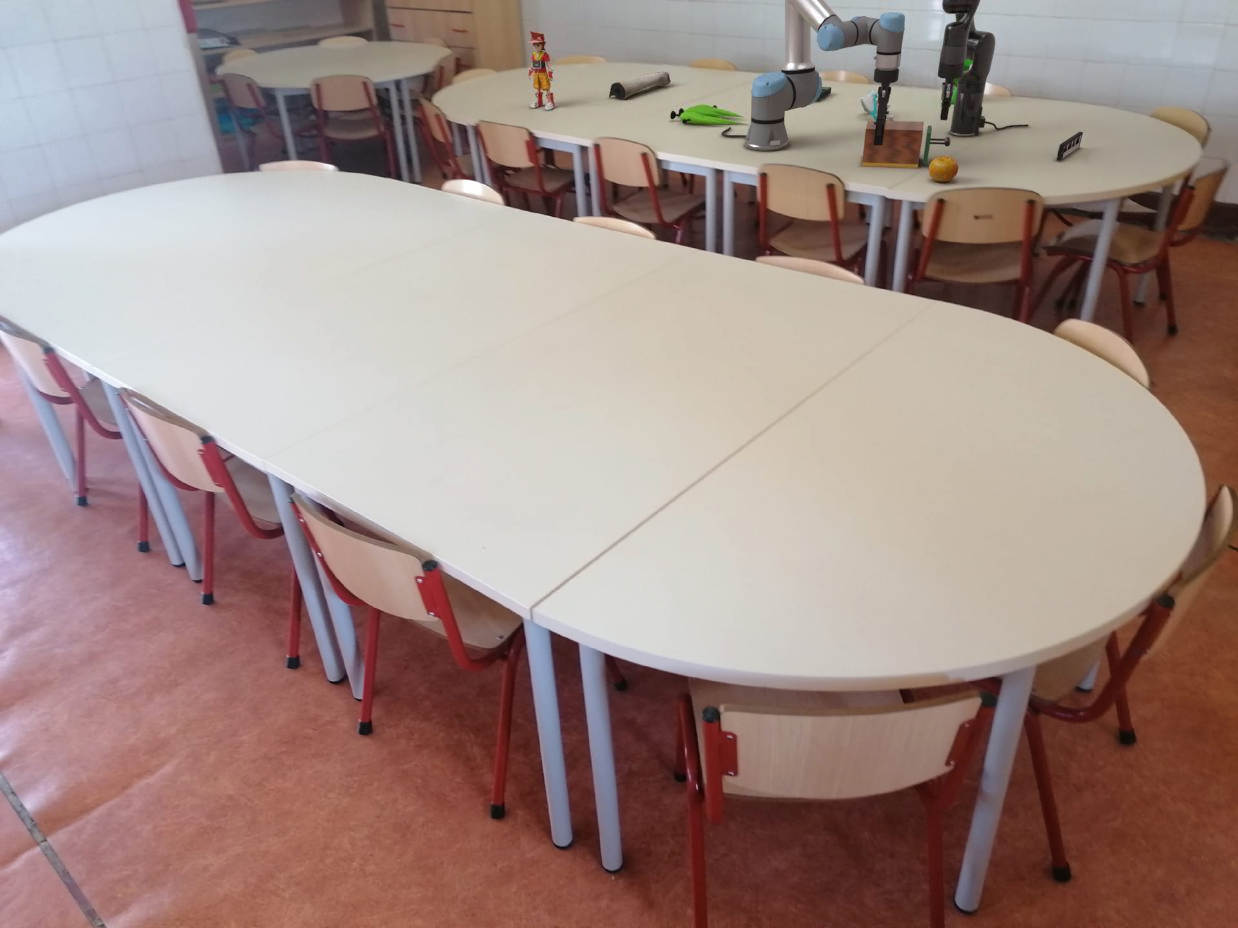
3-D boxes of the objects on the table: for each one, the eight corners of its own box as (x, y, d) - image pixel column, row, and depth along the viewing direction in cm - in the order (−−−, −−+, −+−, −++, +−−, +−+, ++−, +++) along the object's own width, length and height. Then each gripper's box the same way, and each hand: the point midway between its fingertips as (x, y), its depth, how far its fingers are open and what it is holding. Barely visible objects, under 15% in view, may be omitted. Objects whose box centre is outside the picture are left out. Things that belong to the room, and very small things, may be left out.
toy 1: (525, 109, 381) (517, 32, 364) (534, 104, 388) (527, 28, 371) (550, 110, 377) (543, 32, 360) (559, 105, 384) (553, 28, 367)
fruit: (922, 172, 274) (939, 148, 271) (923, 174, 282) (940, 151, 279) (945, 187, 273) (963, 164, 270) (946, 189, 281) (963, 166, 278)
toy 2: (660, 123, 346) (729, 136, 334) (661, 109, 344) (731, 121, 331) (693, 112, 367) (760, 123, 354) (694, 98, 364) (762, 110, 351)
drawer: (947, 157, 294) (951, 126, 289) (947, 165, 287) (952, 133, 282) (876, 154, 300) (879, 124, 295) (874, 162, 293) (877, 131, 288)
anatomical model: (855, 90, 344) (881, 82, 343) (857, 117, 350) (883, 110, 349) (867, 99, 332) (894, 92, 331) (869, 127, 337) (896, 120, 337)
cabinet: (918, 158, 298) (923, 121, 291) (917, 167, 290) (923, 130, 283) (864, 156, 302) (867, 120, 296) (861, 165, 294) (865, 129, 288)
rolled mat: (651, 76, 408) (662, 61, 399) (662, 93, 408) (674, 79, 400) (605, 92, 391) (616, 77, 383) (617, 110, 391) (628, 95, 383)
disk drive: (818, 102, 366) (831, 94, 376) (818, 95, 364) (831, 87, 374) (794, 100, 370) (807, 92, 380) (794, 93, 369) (808, 85, 379)
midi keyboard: (1060, 160, 287) (1063, 145, 284) (1056, 160, 288) (1059, 144, 285) (1079, 147, 298) (1083, 132, 295) (1075, 147, 298) (1079, 131, 296)
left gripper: (877, 60, 291) (869, 130, 303) (872, 76, 273) (864, 150, 285) (901, 60, 289) (892, 131, 301) (897, 76, 271) (889, 150, 283)
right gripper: (939, 56, 281) (931, 113, 291) (939, 65, 270) (930, 124, 280) (965, 56, 279) (955, 114, 289) (965, 65, 268) (956, 125, 278)
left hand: (879, 140), depth 293 cm, fingers closed on cabinet, 10 cm apart
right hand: (943, 119), depth 284 cm, fingers closed
